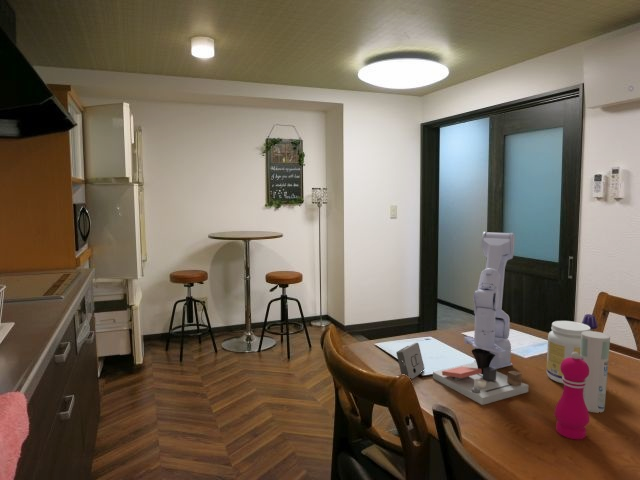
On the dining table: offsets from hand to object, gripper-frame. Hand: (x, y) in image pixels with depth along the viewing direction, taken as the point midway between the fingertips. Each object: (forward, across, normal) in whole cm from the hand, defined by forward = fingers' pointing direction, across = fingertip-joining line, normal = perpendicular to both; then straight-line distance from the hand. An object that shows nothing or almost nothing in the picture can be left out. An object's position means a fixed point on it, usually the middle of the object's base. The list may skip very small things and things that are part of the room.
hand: (482, 373), depth 138 cm
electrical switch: (+3, -16, -15) cm, 22 cm away
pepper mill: (+3, +30, -3) cm, 31 cm away
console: (+3, 0, -2) cm, 4 cm away
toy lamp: (+3, +4, +43) cm, 43 cm away
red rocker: (-1, -2, -7) cm, 7 cm away
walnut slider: (+1, +8, +4) cm, 9 cm away
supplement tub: (+3, +9, +26) cm, 28 cm away
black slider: (+1, +2, 0) cm, 3 cm away
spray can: (+3, +24, +14) cm, 28 cm away
